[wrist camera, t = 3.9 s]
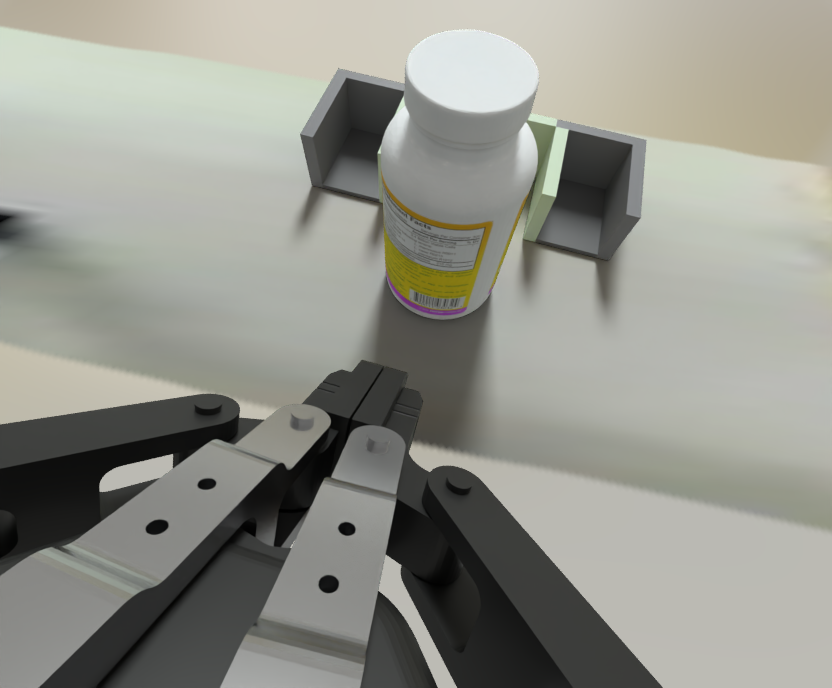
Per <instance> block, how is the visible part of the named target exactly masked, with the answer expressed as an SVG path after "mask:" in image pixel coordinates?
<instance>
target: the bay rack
mask: <svg viewBox="0 0 832 688" xmlns="http://www.w3.org/2000/svg"><path fill="white" fill-rule="evenodd" d="M404 89H405V84H403V83H399V82H394V81H390V80H386V79H382V78H377V77H373V76H369V75H364V74H360V73H356V72H352V71H347V70H343V69H339V68H338V70H337V72H336V74H335V75H334V77H333V79H332V80H331V82H330V84H329V86H328V87H327V89H326V91H325V92H324V94H323V96H322V98H321V99H320V101H319V103H318V104H317V106H316V108H315V110H314V111H313V113H312V115H311V116H310V118H309V120H308V122H307V123H306V125H305V127H304V128H303V130H302V132H301V134H300V135H301V140H302V144H303V148H304V153H305V157H306V161H307V166H308V170H309V175H310V179H311V183H312V185H313V186H317V187H321V188H325V189H329V190H333V191H337V192H341V193H345V194H349V195H353V196H357V197H360V198H364V199H368V200H372V201H376V202H380V203H383V197H382V177H381V145H382V140H383V137H384V133H385V131H386V129H387V127H388V125H389V123H390V122H391V120H392V119H393V117H394V116H395V115H396V114H397V113H398V112H399V111H400V110H401V109H402V108H403V107H404V106H405V102H404ZM526 123H527V124H528V125H529V127H530V129H531V131H532V133H533V135H534V138H535V141H536V145H537V151H538V165H537V171H536V174H535V176H537V177H536V181H535V186H534V191H533V195H532V200H531V204H530V209H529V213H528V218H527V222H526V227H525V231H524V236H523V239H525V240H529V241H533V242H537V243H541V244H545V245H549V246H553V247H557V248H560V249H564V250H568V251H572V252H576V253H580V254H584V255H588V256H592V257H596V258H600V259H604V260H609V259H610V257H611V256H612V255H613V253H614V252H615V251H616V250H617V248H618V247H619V246H620V244H621V243H622V242H623V240H624V239H625V238H626V236H627V235H628V234H629V232H630V231H631V230H632V229H633V227H634V226H635V225H636V223H637V222H638V221H639V219H640V218H641V206H642V193H643V179H644V166H645V152H646V140H644V139H640V138H636V137H631V136H627V135H623V134H618V133H614V132H610V131H606V130H601V129H597V128H593V127H588V126H584V125H580V124H575V123H571V122H567V121H563V120H558V119H554V118H550V117H545V116H541V115H537V114H532V113H530V116H529V118H528V120H527V121H526Z"/></svg>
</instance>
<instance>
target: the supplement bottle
mask: <svg viewBox="0 0 832 688" xmlns="http://www.w3.org/2000/svg"><path fill="white" fill-rule="evenodd" d="M538 83H539V74H538V69H537V66H536V64H535V62H534V61H533V59H532V57H531V56H530V55H529V54H528V53H527V52H526V51H525V50H524V49H523V48H521V47H520V46H519V45H517V44H515V43H514V42H512V41H510V40H508V39H506V38H504V37H501V36H499V35H495V34H492V33H489V32H484V31H479V30H451V31H445V32H441V33H437V34H434V35H432V36H430V37H428V38H426V39H424V40H422V41H421V42H420V43H419V44H418V45H416V46H415V47H414V49H413V50H412V51H411V52H410V54H409V56H408V58H407V61H406V67H405V89H404V102H405V106H404V107H403V108H402V109H401V110H400V111H399V112H398V113H397V114H396V115H395V116H394V117H393V119H392V120H391V122H390V123H389V125H388V127H387V129H386V131H385V133H384V137H383V140H382V145H381V177H382V197H383V219H384V242H385V264H386V276H387V281H388V284H389V287H390V289H391V291H392V293H393V294H394V296H395V297H396V298H397V299H398V300H399V302H400V303H401V304H403V305H404V306H405V307H406V308H407V309H409V310H410V311H412V312H414V313H416V314H418V315H421V316H423V317H427V318H431V319H440V320H445V319H454V318H458V317H462V316H464V315H467V314H469V313H471V312H473V311H474V310H476V309H477V308H478V307H480V306H481V305H482V304H483V303H484V302H485V300H486V299H487V298H488V296H489V295H490V293H491V291H492V289H493V286H494V284H495V282H496V279H497V276H498V274H499V271H500V268H501V266H502V263H503V260H504V257H505V255H506V252H507V249H508V247H509V244H510V241H511V239H512V236H513V233H514V231H515V228H516V226H517V223H518V220H519V218H520V215H521V212H522V210H523V207H524V205H525V202H526V199H527V197H528V194H529V192H530V189H531V186H532V183H533V181H534V178H535V174H536V171H537V165H538V151H537V145H536V141H535V138H534V135H533V133H532V131H531V129H530V127H529V125H528V124H527V123H526V121H527V120H528V118H529V116H530V113H531V110H532V106H533V102H534V99H535V95H536V92H537V88H538Z"/></svg>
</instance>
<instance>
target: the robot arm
mask: <svg viewBox="0 0 832 688" xmlns="http://www.w3.org/2000/svg"><path fill="white" fill-rule="evenodd" d="M407 375H408V373H407V372H403V371H400V370H396V369H393V368H389V367H385V368H384V366H382V365H378V364H375V363H371V362H368V361H364V360H361V362H360V363H359V364H358V365H357V366H356V368H355V369H354V370H353V371H352V372H349V371H345V370H339V371H337V372H334V373H331V374H329V375H328V376H327V377H326V379H325V380H324V381H323V383H321V384H320V385H319V386H318V387H317V389H315V390H314V391H313V392H312V394H311V395H310V396H309V397H308V398H307V399H306V400H305V401H304V402H303V403H302V404H292V405H287V406H284V407H281V408H280V409H278V410H277V411H275V412H274V413H273V414H272V415H271V416H269V417H268V418H267V419H266V420H259V419H248V418H239V413H240V407H239V405H238V403H237V402H236V401H234V400H233V399H231V398H229V397H226V396H223V395H217V394H199V395H193V396H187V397H179V398H173V399H166V400H160V401H153V402H146V403H140V404H133V405H127V406H120V407H113V408H108V409H100V410H94V411H87V412H81V413H75V414H67V415H61V416H54V417H47V418H41V419H34V420H28V421H21V422H14V423H8V424H2V425H0V688H438V687H437V685H436V683H435V680H434V678H433V676H432V674H431V672H430V669H429V667H428V665H427V662H426V660H425V658H424V656H423V654H422V651H421V649H420V647H419V644H418V642H417V640H416V638H415V636H414V634H413V632H412V630H411V628H410V627H409V625H408V623H407V622H406V620H405V619H404V617H403V616H402V614H401V613H400V612H399V610H398V609H397V608H396V607H395V606H394V605H393V604H392V603H391V601H390V600H389V599H388V598H386V597H385V596H384V595H383V594H382V593H380V592H379V591H378V589H379V584H380V579H381V574H382V569H383V564H384V559H385V554H386V555H387V556H389V557H391V558H392V559H393V560H395V561H396V562H398V563H399V564H401V565H402V566H401V578H402V581H403V583H404V585H405V587H406V589H407V591H408V593H409V595H410V597H411V599H412V601H413V603H414V605H415V606H416V608H417V610H418V612H419V614H420V616H421V618H422V620H423V622H424V624H425V626H426V628H427V630H428V632H429V634H430V636H431V638H432V640H433V642H434V643H435V645H436V647H437V649H438V651H439V653H440V655H441V657H442V659H443V661H444V663H445V665H446V667H447V669H448V671H449V673H450V675H451V676H452V678H453V680H454V682H455V684H456V686H457V688H662V686H661V685H660V684H659V683H658V682H657V680H656V679H655V678H654V677H653V676H652V675H651V674H650V673H649V671H648V670H647V669H646V668H645V667H644V666H643V664H642V663H641V662H640V661H639V660H638V659H637V658H636V656H635V655H634V654H633V653H632V652H631V651H630V650H629V649H628V647H627V646H626V645H625V644H624V643H623V642H622V640H621V639H620V638H619V637H618V636H617V635H616V634H615V633H614V631H613V630H612V629H611V628H610V627H609V626H608V625H607V623H606V622H605V621H604V620H603V619H602V618H601V617H600V615H599V614H598V613H597V612H596V611H595V610H594V609H593V607H592V606H591V605H590V604H589V603H588V602H587V601H586V599H585V598H584V597H583V596H582V595H581V594H580V593H579V591H578V590H577V589H576V588H575V587H574V586H573V585H572V583H571V582H570V581H569V580H568V579H567V578H566V577H565V575H564V574H563V573H562V572H561V571H560V570H559V569H558V567H557V566H556V565H555V564H554V563H553V562H552V561H551V560H550V558H549V557H548V556H547V555H546V554H545V553H544V551H543V550H542V549H541V548H540V547H539V546H538V545H537V543H536V542H535V541H534V540H533V539H532V538H531V537H530V536H529V534H528V533H527V532H526V531H525V530H524V529H523V528H522V527H521V525H520V524H519V523H518V522H517V521H516V520H515V519H514V517H513V516H512V515H511V514H510V513H509V512H508V510H507V509H506V508H505V507H504V506H503V505H502V504H501V502H500V501H499V500H498V499H497V498H496V497H495V496H494V495H493V493H492V492H491V491H490V490H489V489H488V488H487V486H486V485H485V484H484V483H483V482H482V481H481V480H480V479H479V478H478V477H477V476H475V475H474V474H472V473H471V472H469V471H467V470H465V469H462V468H459V467H455V466H440V467H437V468H435V469H433V470H432V471H431V472H428V471H426V470H424V469H423V468H421V467H420V466H419V465H417V464H416V463H415V462H414V461H413V460H412V458H411V457H410V455H409V450H410V447H411V444H412V440H413V437H414V433H415V429H416V426H417V422H418V418H419V414H420V411H421V407H422V403H423V400H422V397H421V395H420V393H419V392H418V391H414V390H411V389H408V388H405V384H406V380H407ZM170 454H173V469H172V470H171V471H169V472H168V473H166V474H165V475H164V476H163V477H161V478H158V479H154V480H151V481H147V482H143V483H139V484H135V485H131V486H128V487H124V488H120V489H116V490H112V491H108V492H99V483H100V481H101V479H102V477H103V476H104V475H105V474H106V473H107V472H109V471H110V470H112V469H114V468H116V467H119V466H123V465H127V464H131V463H136V462H140V461H144V460H149V459H152V458H157V457H162V456H165V455H170ZM295 539H296V540H295ZM294 541H295V542H294ZM293 542H294V544H293ZM292 544H293V546H292V548H290V547H291V545H292Z"/></svg>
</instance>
